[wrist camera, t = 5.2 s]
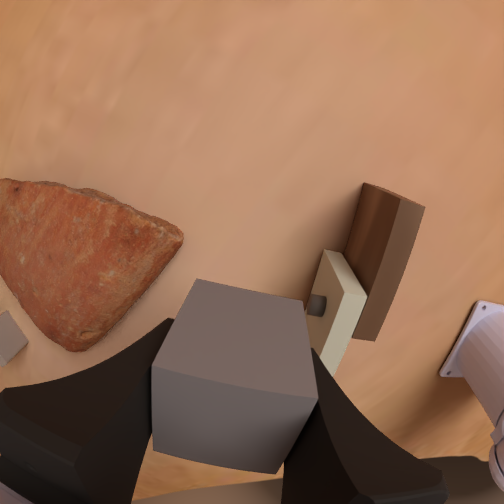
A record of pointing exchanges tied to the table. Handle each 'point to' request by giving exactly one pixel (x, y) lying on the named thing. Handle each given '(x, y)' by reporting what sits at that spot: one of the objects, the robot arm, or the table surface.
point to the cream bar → (333, 309)
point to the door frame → (380, 251)
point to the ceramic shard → (78, 257)
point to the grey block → (233, 379)
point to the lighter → (10, 338)
